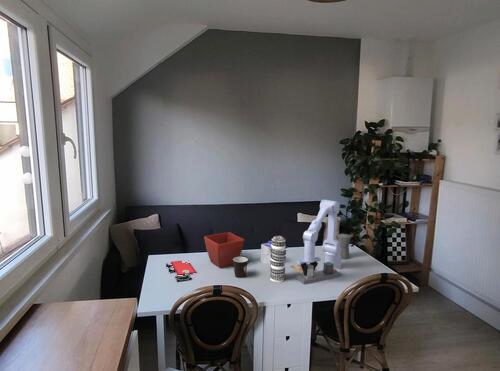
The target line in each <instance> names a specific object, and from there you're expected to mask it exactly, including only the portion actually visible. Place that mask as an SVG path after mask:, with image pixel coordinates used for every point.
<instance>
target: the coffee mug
mask: <svg viewBox="0 0 500 371" xmlns="http://www.w3.org/2000/svg"><path fill="white" fill-rule="evenodd" d="M233 263H234V265H233V270H234V277H235V278H238V279H243V278H246V277H247V270H248V266H249V263H250V258H248V257H244V256H240V257H236V258H234V259H233Z"/></svg>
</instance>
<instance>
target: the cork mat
mask: <svg viewBox="0 0 500 371" xmlns="http://www.w3.org/2000/svg"><path fill="white" fill-rule="evenodd" d="M290 268H291V269H293V270H295V271H296V272H298V273H299V274H303V269H302V267H301V265H298V264H295V265H290ZM316 271H317V269H316V268H315V271H314V272H316Z"/></svg>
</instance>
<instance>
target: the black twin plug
mask: <svg viewBox="0 0 500 371" xmlns="http://www.w3.org/2000/svg"><path fill="white" fill-rule="evenodd" d="M323 266H324V267H323ZM323 266H322V268H323V269H322V270H323V272H324V273H325V274H327V275H329V274H333V266H334V264H332V263H331V262H325V261H324V262H323Z"/></svg>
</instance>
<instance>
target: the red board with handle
mask: <svg viewBox="0 0 500 371" xmlns="http://www.w3.org/2000/svg"><path fill="white" fill-rule="evenodd" d="M170 262H171V263H170V264H169V262H167V263H165V268H166V267H168V273H169V272H171V273H175V274H176V273H177V274H176V276H174V278H175V280H176V282H179V281H187V280H192V279H193V278H192V276H191V275H194V274H193V273H197V270H195V268H194V266H193V265H192V264H191V262H190V263H187V262H185V263H182V260H176V261H173V260H172V261H170ZM186 263H187V264H186ZM171 264H172V265H171ZM170 266H173V267H172V269H171V267H170ZM173 268H174V269H173ZM173 271H175V272H173ZM185 274H186V275H185ZM189 274H191V275H189ZM197 274H198V273H197ZM177 275H183V276H177Z"/></svg>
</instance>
